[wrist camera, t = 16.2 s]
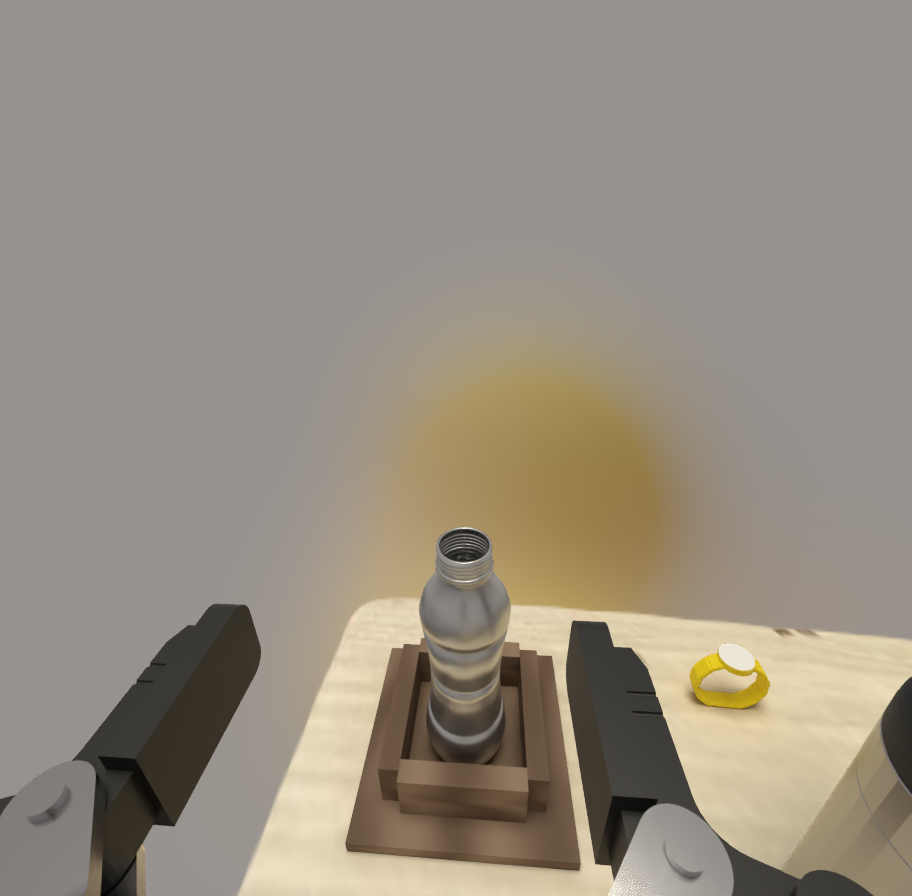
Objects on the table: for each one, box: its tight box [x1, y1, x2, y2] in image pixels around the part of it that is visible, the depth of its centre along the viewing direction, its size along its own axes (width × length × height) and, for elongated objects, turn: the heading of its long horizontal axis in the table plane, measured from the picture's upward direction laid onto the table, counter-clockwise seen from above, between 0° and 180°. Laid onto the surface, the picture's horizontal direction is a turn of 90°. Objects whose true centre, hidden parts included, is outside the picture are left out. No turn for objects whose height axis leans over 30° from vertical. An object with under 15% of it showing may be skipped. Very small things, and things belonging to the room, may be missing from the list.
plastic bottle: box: [419, 527, 511, 765], centre depth 33 cm, size 6×7×20 cm
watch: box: [689, 643, 770, 709], centre depth 39 cm, size 6×3×6 cm, turn 83°
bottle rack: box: [345, 638, 581, 870], centre depth 37 cm, size 16×16×5 cm
